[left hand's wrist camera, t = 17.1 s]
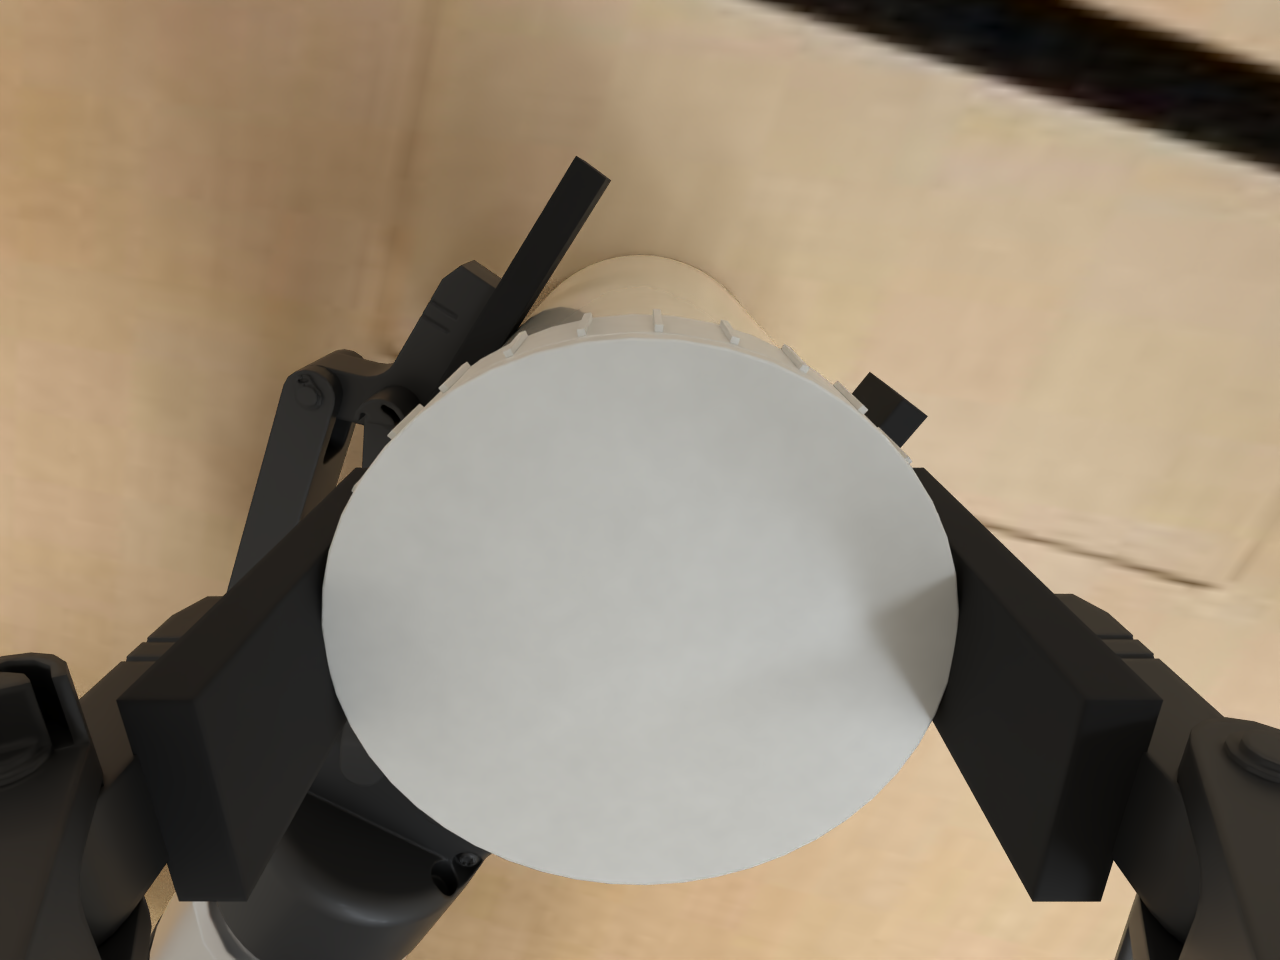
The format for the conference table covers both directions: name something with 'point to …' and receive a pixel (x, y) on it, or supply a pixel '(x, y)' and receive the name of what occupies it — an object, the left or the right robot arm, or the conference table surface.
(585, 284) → the jar
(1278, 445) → the conference table surface
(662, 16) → the conference table surface
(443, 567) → the lid
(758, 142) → the conference table surface
